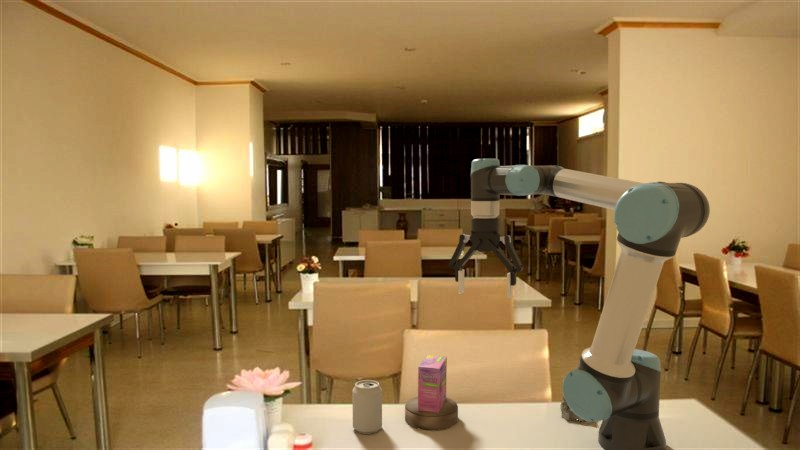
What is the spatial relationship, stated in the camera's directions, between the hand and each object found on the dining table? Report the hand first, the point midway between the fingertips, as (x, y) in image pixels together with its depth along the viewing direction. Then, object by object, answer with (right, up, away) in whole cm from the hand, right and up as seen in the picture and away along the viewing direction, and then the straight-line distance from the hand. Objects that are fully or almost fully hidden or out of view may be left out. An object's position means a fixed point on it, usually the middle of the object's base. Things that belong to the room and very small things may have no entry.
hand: (485, 295), depth 163 cm
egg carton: (+25, -33, +1) cm, 41 cm away
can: (-31, -33, -8) cm, 46 cm away
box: (-14, -29, -3) cm, 32 cm away
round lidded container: (-15, -33, -2) cm, 36 cm away
